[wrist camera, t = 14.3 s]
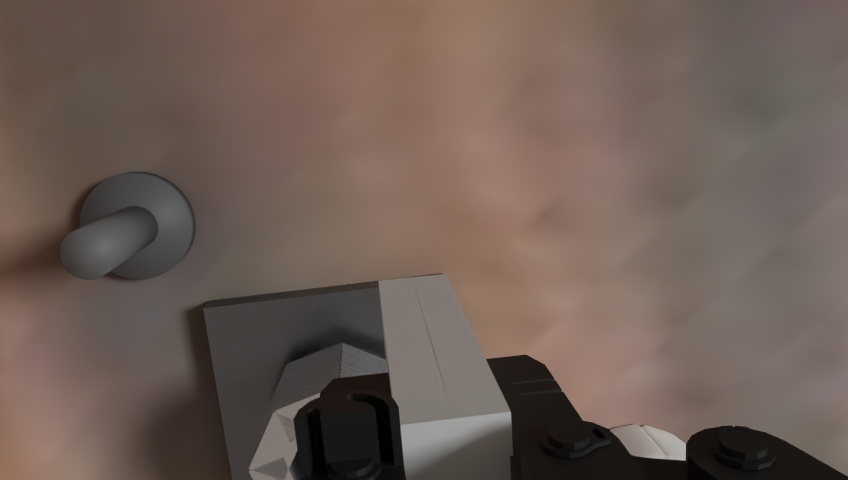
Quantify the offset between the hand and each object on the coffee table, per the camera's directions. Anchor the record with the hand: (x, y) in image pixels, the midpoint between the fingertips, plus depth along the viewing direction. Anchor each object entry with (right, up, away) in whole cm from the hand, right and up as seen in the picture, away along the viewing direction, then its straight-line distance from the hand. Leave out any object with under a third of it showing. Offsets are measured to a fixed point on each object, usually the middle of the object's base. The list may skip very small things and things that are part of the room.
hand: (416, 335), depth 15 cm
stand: (-16, +3, +24) cm, 29 cm away
